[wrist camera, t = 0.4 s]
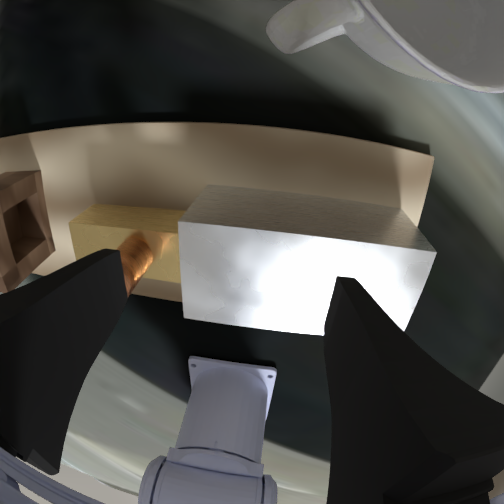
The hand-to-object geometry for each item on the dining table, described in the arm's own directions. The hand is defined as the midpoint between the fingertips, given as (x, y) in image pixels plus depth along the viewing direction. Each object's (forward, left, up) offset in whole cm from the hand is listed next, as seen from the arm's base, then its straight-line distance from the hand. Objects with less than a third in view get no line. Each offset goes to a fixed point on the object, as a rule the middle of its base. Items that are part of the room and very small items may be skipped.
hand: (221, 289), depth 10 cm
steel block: (-2, -3, -10) cm, 10 cm away
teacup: (+13, -6, -10) cm, 18 cm away
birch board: (-2, +6, -10) cm, 12 cm away
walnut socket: (-2, +19, -10) cm, 21 cm away
